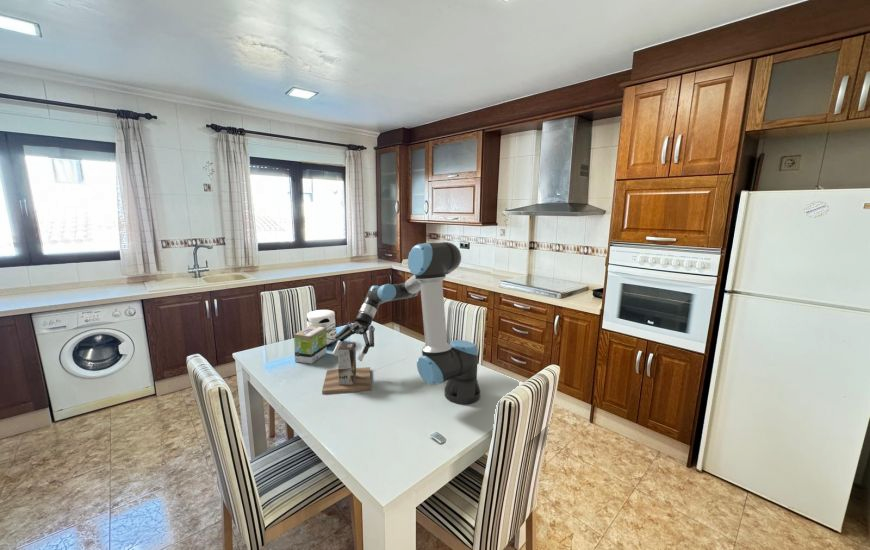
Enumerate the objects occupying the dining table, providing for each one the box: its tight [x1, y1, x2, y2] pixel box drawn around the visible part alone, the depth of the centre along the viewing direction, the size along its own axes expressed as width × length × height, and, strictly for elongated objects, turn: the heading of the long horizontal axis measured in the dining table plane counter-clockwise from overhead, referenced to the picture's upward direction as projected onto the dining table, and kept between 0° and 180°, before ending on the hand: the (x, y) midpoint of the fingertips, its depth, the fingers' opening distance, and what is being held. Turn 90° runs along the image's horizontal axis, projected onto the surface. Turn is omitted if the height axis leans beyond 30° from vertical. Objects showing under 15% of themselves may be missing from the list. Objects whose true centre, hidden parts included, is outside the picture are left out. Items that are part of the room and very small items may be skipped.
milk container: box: [306, 309, 338, 347], centre depth 203 cm, size 17×17×18 cm
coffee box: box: [337, 341, 357, 385], centre depth 156 cm, size 9×6×16 cm
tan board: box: [321, 366, 372, 395], centre depth 159 cm, size 20×20×2 cm
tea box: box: [293, 326, 328, 364], centre depth 183 cm, size 15×10×15 cm, turn 168°
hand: (346, 357), depth 156 cm, fingers open, 13 cm apart
